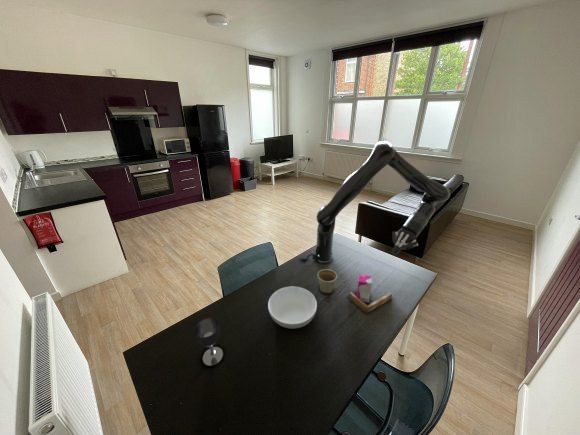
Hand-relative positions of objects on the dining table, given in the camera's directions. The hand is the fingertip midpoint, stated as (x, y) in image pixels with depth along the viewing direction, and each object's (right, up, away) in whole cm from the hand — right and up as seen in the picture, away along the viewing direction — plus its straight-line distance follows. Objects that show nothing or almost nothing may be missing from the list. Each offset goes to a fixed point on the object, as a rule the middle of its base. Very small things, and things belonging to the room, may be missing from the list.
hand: (393, 253), depth 108 cm
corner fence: (-9, -22, +5) cm, 24 cm away
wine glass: (-75, -34, -21) cm, 85 cm away
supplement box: (-12, -22, +5) cm, 26 cm away
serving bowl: (-46, -26, -4) cm, 53 cm away
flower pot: (-29, -19, +11) cm, 36 cm away
